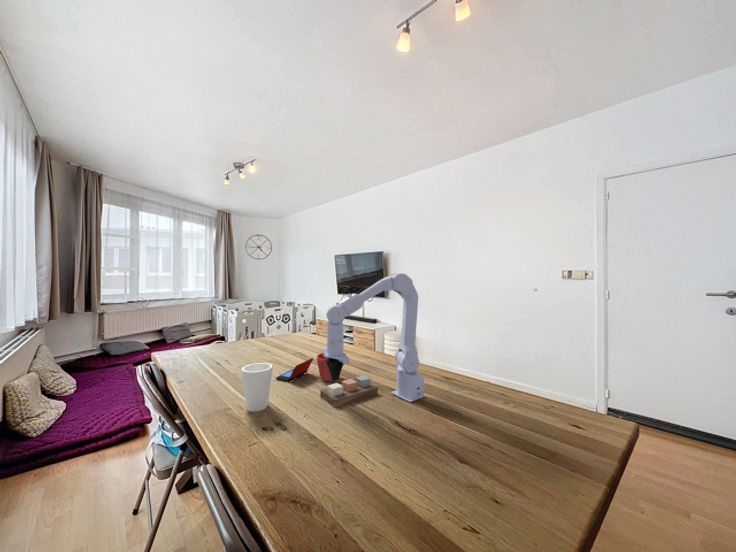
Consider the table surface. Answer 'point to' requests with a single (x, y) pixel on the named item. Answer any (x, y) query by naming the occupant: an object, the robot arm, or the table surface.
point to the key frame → (349, 395)
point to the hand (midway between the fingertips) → (335, 379)
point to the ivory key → (334, 389)
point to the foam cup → (256, 385)
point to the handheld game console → (295, 371)
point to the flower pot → (323, 368)
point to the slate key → (362, 381)
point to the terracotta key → (349, 385)
